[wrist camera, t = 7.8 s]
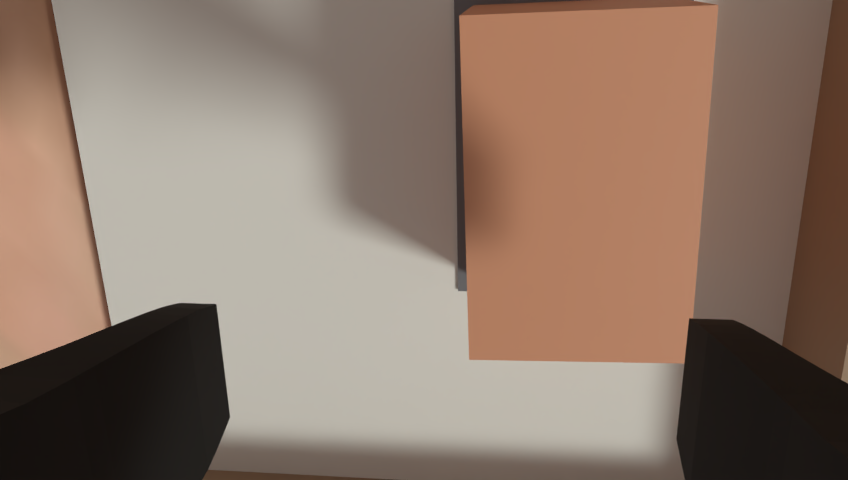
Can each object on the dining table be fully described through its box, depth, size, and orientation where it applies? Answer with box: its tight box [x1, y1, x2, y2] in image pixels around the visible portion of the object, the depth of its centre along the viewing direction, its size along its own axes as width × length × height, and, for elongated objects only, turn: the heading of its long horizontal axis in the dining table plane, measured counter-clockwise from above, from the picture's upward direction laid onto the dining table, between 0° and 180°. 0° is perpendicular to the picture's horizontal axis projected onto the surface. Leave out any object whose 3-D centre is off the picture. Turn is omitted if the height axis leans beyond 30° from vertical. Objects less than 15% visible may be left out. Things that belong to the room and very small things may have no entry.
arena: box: [51, 0, 848, 480], centre depth 19 cm, size 16×20×4 cm
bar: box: [459, 0, 718, 364], centre depth 17 cm, size 7×4×4 cm, turn 3°
